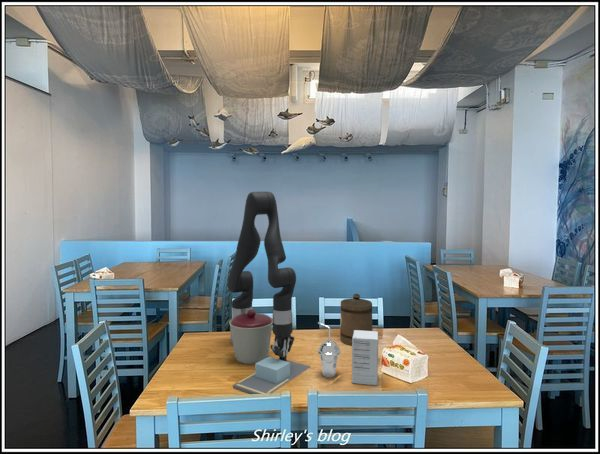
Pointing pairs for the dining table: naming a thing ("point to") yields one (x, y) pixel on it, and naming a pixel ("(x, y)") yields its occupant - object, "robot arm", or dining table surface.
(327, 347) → the cup with straw
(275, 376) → the carton
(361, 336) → the supplement box
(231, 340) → the robot arm
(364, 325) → the wooden container
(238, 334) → the canister
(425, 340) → the dining table surface
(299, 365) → the display board
